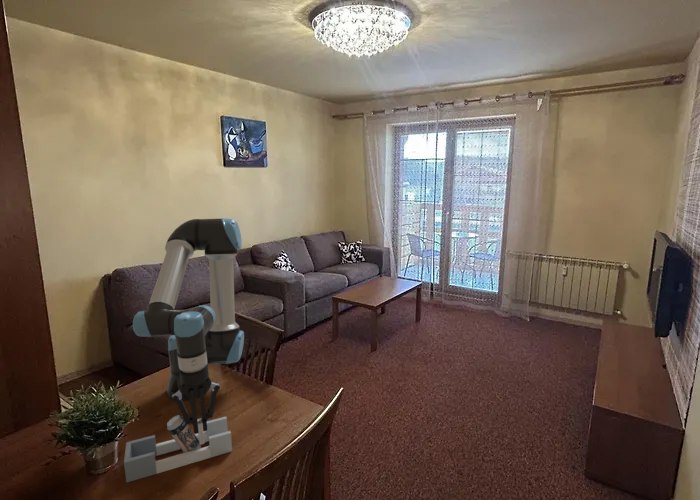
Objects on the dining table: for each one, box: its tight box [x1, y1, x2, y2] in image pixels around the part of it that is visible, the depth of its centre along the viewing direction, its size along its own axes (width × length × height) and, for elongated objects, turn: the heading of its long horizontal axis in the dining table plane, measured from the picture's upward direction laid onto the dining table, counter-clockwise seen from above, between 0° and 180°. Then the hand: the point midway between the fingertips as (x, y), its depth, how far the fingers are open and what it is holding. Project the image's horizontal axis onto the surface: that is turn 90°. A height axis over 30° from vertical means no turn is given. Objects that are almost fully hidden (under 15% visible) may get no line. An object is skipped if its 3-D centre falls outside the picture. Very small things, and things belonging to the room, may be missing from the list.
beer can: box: [166, 414, 202, 454], centre depth 112 cm, size 5×5×12 cm
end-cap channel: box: [123, 416, 233, 484], centre depth 112 cm, size 9×27×6 cm, turn 116°
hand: (201, 441), depth 114 cm, fingers closed
